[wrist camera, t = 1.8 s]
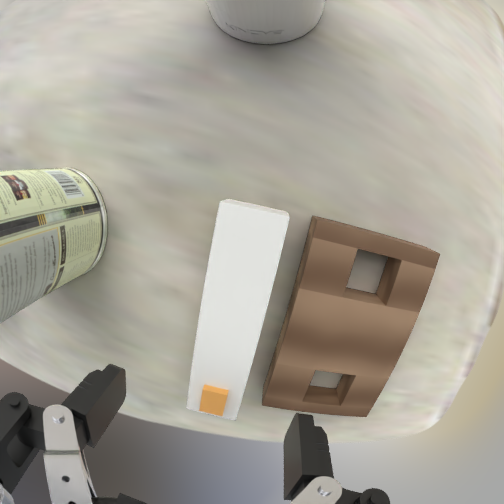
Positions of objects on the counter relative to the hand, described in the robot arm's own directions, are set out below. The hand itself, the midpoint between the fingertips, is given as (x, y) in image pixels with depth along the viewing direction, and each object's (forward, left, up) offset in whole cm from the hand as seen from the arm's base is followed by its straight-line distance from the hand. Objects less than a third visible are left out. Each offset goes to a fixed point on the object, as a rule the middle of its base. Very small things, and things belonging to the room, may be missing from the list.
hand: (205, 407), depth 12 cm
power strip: (0, 0, -12) cm, 12 cm away
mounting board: (0, +9, -12) cm, 15 cm away
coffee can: (-3, -17, -12) cm, 21 cm away
